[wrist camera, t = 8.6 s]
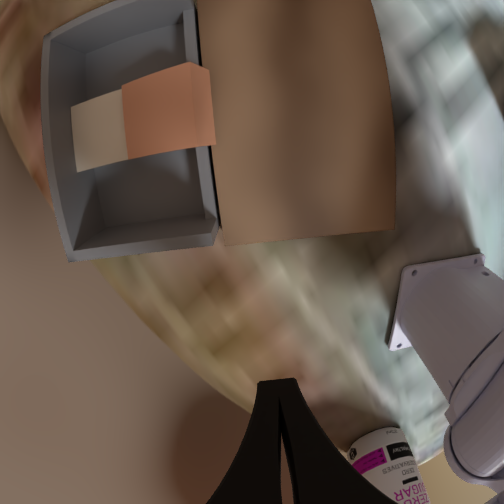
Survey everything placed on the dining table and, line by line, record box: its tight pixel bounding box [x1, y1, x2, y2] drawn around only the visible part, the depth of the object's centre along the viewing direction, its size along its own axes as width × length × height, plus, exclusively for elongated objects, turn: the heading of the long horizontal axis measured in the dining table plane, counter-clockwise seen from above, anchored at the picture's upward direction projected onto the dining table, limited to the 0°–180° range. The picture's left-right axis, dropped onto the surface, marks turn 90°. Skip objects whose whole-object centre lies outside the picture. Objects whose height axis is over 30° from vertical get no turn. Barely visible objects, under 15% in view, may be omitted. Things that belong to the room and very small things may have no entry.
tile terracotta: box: [122, 62, 216, 160], centre depth 12 cm, size 4×4×2 cm
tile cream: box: [71, 89, 136, 172], centre depth 13 cm, size 4×4×2 cm
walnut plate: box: [197, 0, 396, 246], centre depth 13 cm, size 10×15×2 cm, turn 6°
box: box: [41, 0, 221, 262], centre depth 12 cm, size 8×13×4 cm, turn 6°
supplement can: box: [347, 427, 431, 504], centre depth 21 cm, size 8×8×15 cm
